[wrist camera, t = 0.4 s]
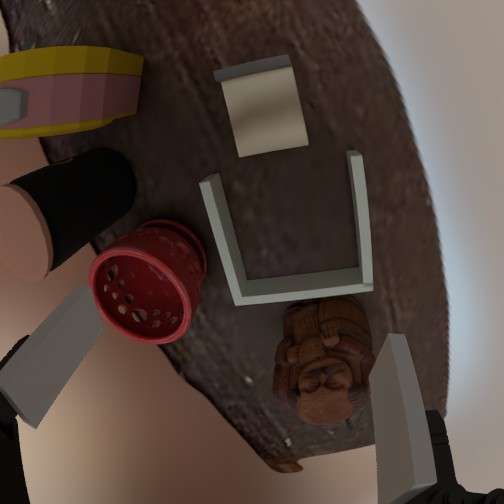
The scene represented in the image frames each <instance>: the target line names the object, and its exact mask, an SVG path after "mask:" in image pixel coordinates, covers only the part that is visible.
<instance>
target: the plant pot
mask: <svg viewBox="0 0 504 504" xmlns="http://www.w3.org/2000/svg"><path fill="white" fill-rule="evenodd" d="M112 265H114V266H115V276H114V278H113V279H112V280H111V281H110V280H109V279H108V276H107V274H108V271H109V269H110V267H111V266H112ZM206 271H207V257H206V253H205V250H204V248H203V246H202V244H201V242H200V240H199V239H198V238H197V236H196V235H195V234H194V233H193V232H192V231H191V230H190V229H188V228H187V227H186V226H184V225H182V224H180V223H178V222H176V221H173V220H169V219H154V220H150V221H147V222H145V223H143V224H142V225H140V226H139V227H138V228H137V229H136V230H134V231H131V232H129V233H127V234H125V235H123V236H121V237H120V238H118V239H117V240H115V241H114V242H113V243H111V244H110V245H109V246H108V247H106V248H105V249H104V250H103V251H102V252H101V253H100V254H99V255H98V256H97V258H96V259H95V260H94V261H93V263H92V265H91V267H90V271H89V276H88V286H89V287H91V288H92V292H93V296H94V299H95V303H96V307H97V310H98V311H99V312H100V314H101V315H102V317H103V318H104V319H105V320H106V321H107V322H108V323H109V324H110V325H111V326H112V327H113V328H114V329H116V330H117V331H119V332H120V333H122V334H123V335H125V336H127V337H129V338H131V339H133V340H136V341H139V342H143V343H147V344H164V343H169V342H172V341H174V340H176V339H178V338H180V337H181V336H182V335H183V334H184V333H185V332H186V331H187V329H188V327H189V326H190V323H191V321H192V319H193V317H194V315H195V312H196V310H197V307H198V303H199V300H200V296H201V291H202V282H203V279H204V277H205V275H206ZM119 280H120V281H121V282H122V287H119V286H118V282H119ZM104 285H106V286H107V291H106V292H105V291H104ZM113 292H114V293H115V294H116V296H117V298H116V299H114V298H113V296H112V294H113ZM126 295H129V296H130V297H131V298H132V303H131V304H128V303H127V302H126V301H125V296H126ZM119 305H120V306H123V307H124V308H125V310H126V313H125V314H122V313H120V312H119V310H118V306H119ZM135 310H139V311H142V312H143V313H145V315H146V316H147V319H146V320H145V321H144V322H137V321H135V320H134V318H133V316H132V313H133V311H135ZM154 312H159V313H160V314H159V315H157V316H155V315H153V313H154ZM169 314H171V316H170V317H169V318H165V317H166V316H167V315H169ZM175 320H177V321H176V322H175V323H174V324H172V325H170V324H171V323H172V322H173V321H175ZM157 323H158V324H161V325H160V326H159V327H157V328H154V327H152V325H153V324H157Z"/></svg>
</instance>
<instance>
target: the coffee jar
mask: <svg viewBox="0 0 504 504" xmlns="http://www.w3.org/2000/svg"><path fill="white" fill-rule="evenodd" d="M133 189H134V184H133V179H132V175H131V172H130V170H129V168H128V166H127V165H126V163H125V162H124V161H123V160H122V159H121V158H120V157H119V156H118V155H117V154H115V153H113V152H111V151H109V150H107V149H98V148H96V149H93V150H90V151H87V152H84V153H81V154H78V155H75V156H73V157H70V158H67V159H64V160H62V161H59V162H56V163H54V164H51V165H48V166H46V167H43V168H41V169H38V170H36V171H33V172H31V173H29V174H26V175H24V176H21V177H19V178H17V179H15V180H13V181H11V182H10V183H9V184H5V185H2V186H0V259H1V261H2V262H3V264H4V265H5V266H6V267H7V269H8V270H9V271H10V272H11V273H12V274H13V275H15V276H16V277H17V278H18V279H20V280H22V281H24V282H26V283H38V282H40V281H41V280H43V279H44V278H45V277H46V276H47V275H48V273H49V272H50V271H52V270H54V269H55V268H57V267H58V266H60V265H61V264H62V263H63V262H65V261H66V260H67V259H68V258H70V257H71V256H72V255H73V254H75V253H76V252H77V251H78V250H79V249H81V248H82V247H83V246H85V245H86V244H87V243H88V242H90V241H91V240H92V239H94V238H95V237H96V236H98V235H99V234H100V233H102V232H103V231H104V230H105V229H107V228H108V227H110V226H111V225H112V224H114V223H115V222H116V221H118V220H119V219H120V218H122V217H123V216H124V215H125V214H126V212H127V211H128V210H129V208H130V205H131V202H132V199H133Z"/></svg>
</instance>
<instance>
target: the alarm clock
mask: <svg viewBox="0 0 504 504" xmlns="http://www.w3.org/2000/svg"><path fill="white" fill-rule="evenodd" d="M143 62H144V57H142V56H139V55H135V54H132V53H128V52H124V51H120V50H116V49H112V48H106V47H95V46H56V47H46V48H38V49H30V50H25V51H20V52H16V53H12V54H8V55H4V56H2V57H0V138H2V139H23V138H34V137H44V136H53V135H60V134H68V133H75V132H81V131H86V130H92V129H96V128H99V127H102V126H105V125H107V124H109V123H111V122H112V121H113V119H116V118H120V117H124V116H128V115H133V114H137V106H138V98H139V90H140V82H141V77H139V76H141V75H142V68H143Z"/></svg>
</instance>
